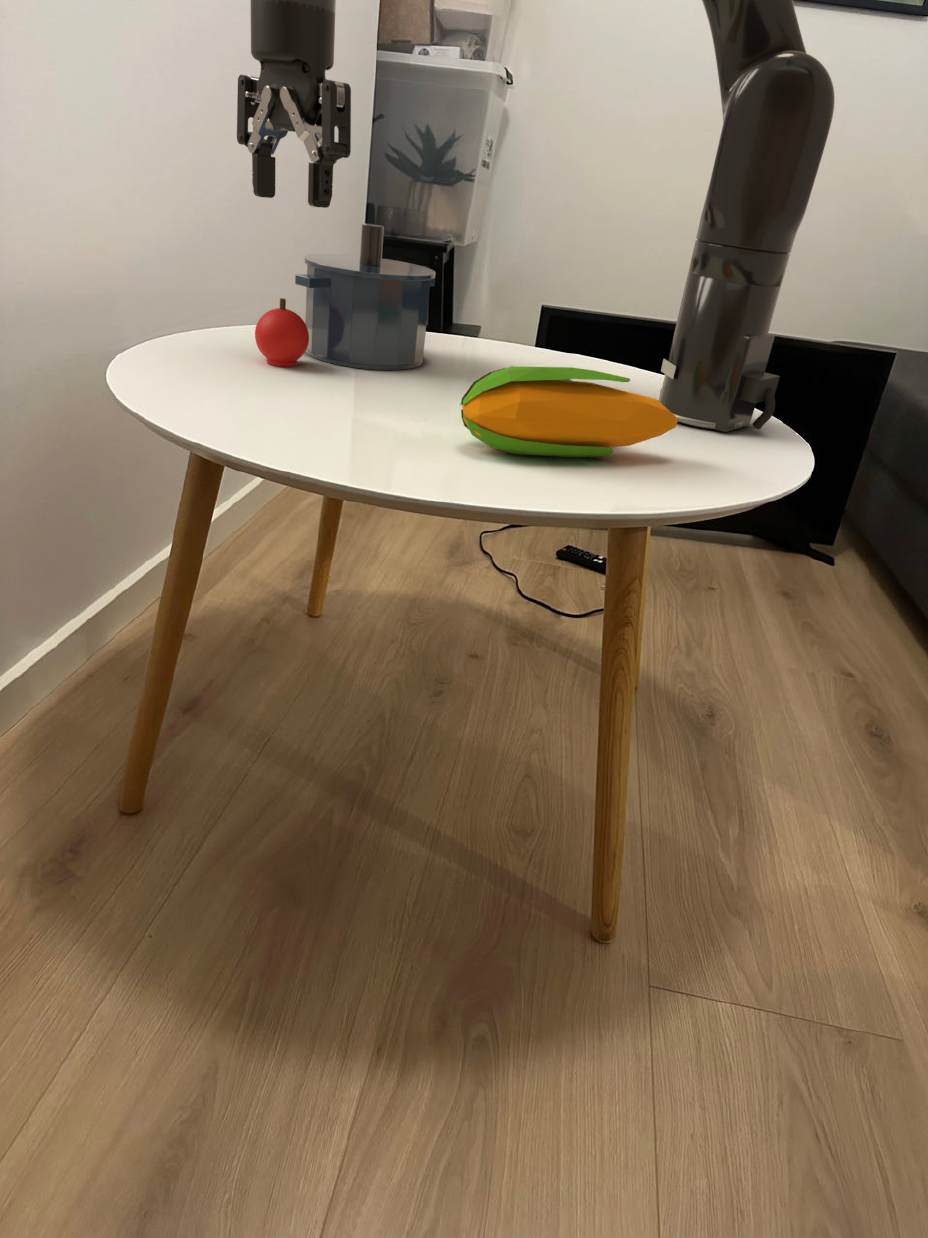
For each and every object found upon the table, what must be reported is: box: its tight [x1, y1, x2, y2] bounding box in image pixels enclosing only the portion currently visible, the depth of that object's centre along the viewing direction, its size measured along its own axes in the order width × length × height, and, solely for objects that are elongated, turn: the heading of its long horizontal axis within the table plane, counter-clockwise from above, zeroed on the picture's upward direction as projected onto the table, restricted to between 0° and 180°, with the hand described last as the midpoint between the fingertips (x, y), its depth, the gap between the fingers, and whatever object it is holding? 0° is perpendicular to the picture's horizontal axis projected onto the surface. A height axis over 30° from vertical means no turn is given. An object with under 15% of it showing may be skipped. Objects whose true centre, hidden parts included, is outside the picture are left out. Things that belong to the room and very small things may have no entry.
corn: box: [459, 365, 679, 458], centre depth 73 cm, size 7×8×20 cm
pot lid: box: [303, 223, 436, 281], centre depth 95 cm, size 15×15×5 cm
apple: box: [254, 297, 309, 368], centre depth 90 cm, size 6×6×7 cm
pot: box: [294, 264, 436, 371], centre depth 98 cm, size 14×19×10 cm
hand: (290, 201), depth 85 cm, fingers open, 8 cm apart
